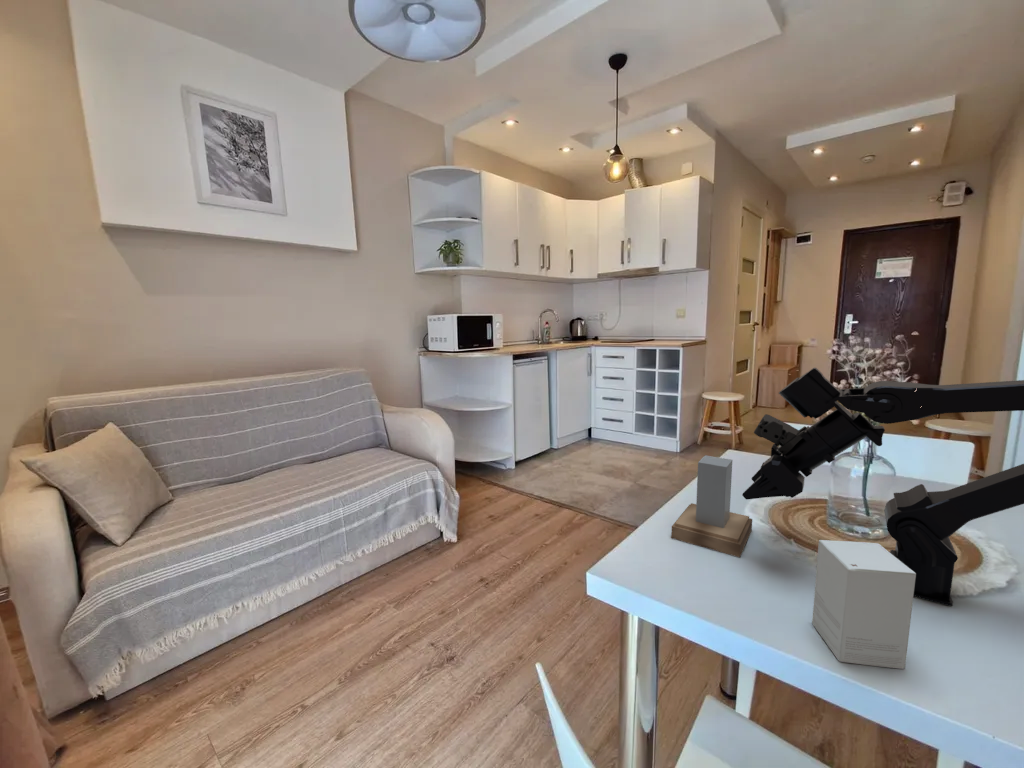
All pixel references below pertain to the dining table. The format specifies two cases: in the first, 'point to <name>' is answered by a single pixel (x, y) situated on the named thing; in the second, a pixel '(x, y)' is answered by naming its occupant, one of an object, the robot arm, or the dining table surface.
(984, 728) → the dining table surface
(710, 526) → the walnut stand
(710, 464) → the block
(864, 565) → the supplement box
